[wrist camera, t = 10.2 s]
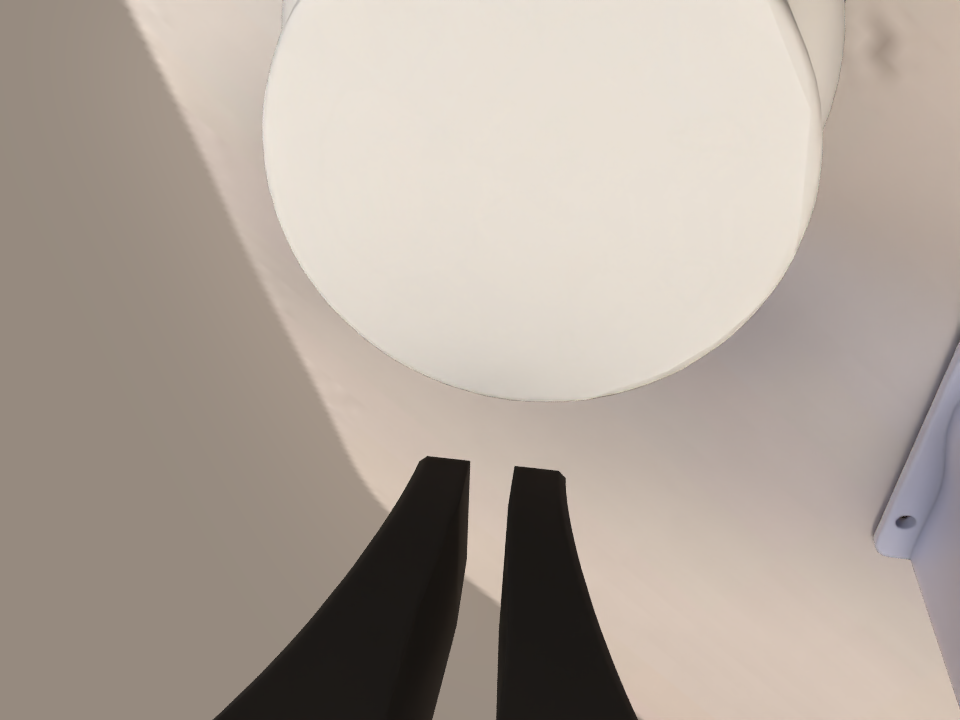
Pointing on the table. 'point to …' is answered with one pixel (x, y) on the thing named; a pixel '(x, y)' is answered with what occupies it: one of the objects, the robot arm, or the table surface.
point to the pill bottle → (548, 177)
